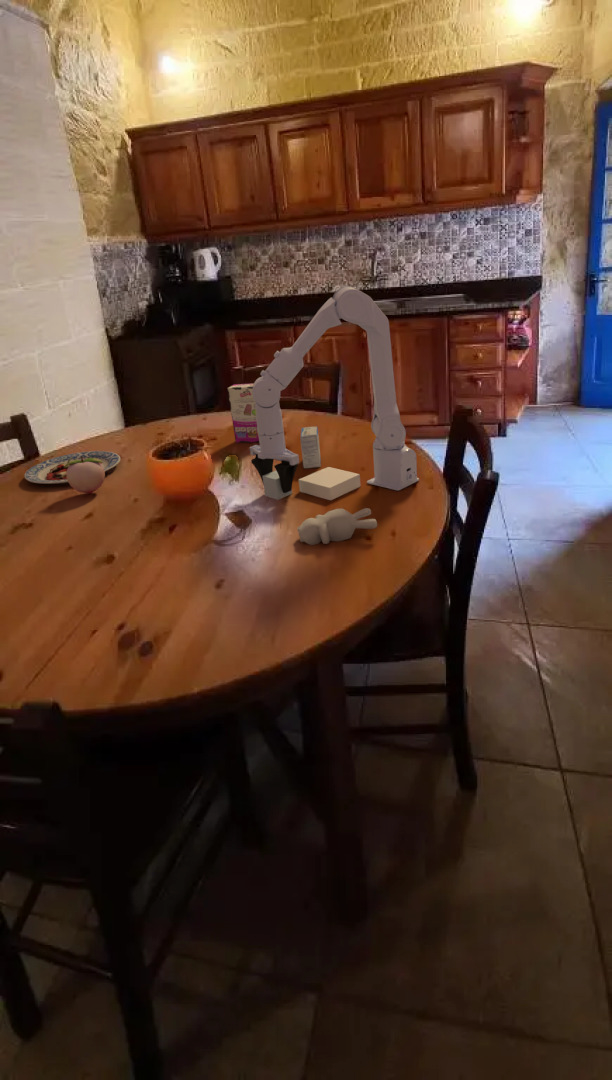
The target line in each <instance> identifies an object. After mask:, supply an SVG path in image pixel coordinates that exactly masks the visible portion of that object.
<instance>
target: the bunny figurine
mask: <svg viewBox="0 0 612 1080" xmlns="http://www.w3.org/2000/svg"><path fill="white" fill-rule="evenodd" d="M370 515H372V510H371V509H370V508H367V507H365V508H363V509H360V510H358V511H356V512H355V513H353V514H352V513H351V512H349V511H348V510H345V509H344V508H336V509H331V510H328V511H327V512H326V513H324V514H317V515H315V517H309V518H305V520H303V521H302V523H301V524H300V526H297V527H296V528H297V532H298V536H299V540H300V543H303V542H304V543H306V544H308V545H310V546H313V545H318V544H320V543H321V542H322V543H323V544H324V545H328V544H329V543H330V541H332V542H343V541H345V540H349V539H351V538H352V536H353V534H354V532H355V530H356V529H364V530H365V529H367V530H369V529H370V530H372V529H376V528H377V527H378V522H377V520H376V518H368V519H367V518H366V519H363V518H365V517H368V516H370Z"/></svg>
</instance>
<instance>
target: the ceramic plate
mask: <svg viewBox="0 0 612 1080" xmlns="http://www.w3.org/2000/svg"><path fill="white" fill-rule="evenodd" d="M81 456H82V458H83V460H85V459H88V458H96V459H99V460H101V461H102V462H103V463H101V462H99V463H100V464H101V465H102V466H103V469H104V472H105V473H106V472H107V471H110V470H111V469H113V468H114V467H116V466H117V465H118V464H119V463H120V461H121V456H120V455H119V454H117V453H116V452H112V451H106V450H91V451H90V450H89V451H82V452H74V453H68V454H64V455H60V456H56V457H53V458H50V459H47V460H44V461H41V462H39V463H37V464H35V465H34V466H31V467H30V468H29V469H27V470H26V472H25V473H24V479H25V480H26V481H28V482H30V483H35V484H49V485H51V484H52V485H53V484H67V483H68V484H69V482H68V480H67V469H68V467H69V466H70V465H71V464H70V465H68V466H66V467H65V468H64V466H65V465H66V464H67V463H69V462H71V461H74V460H80V461H82V460H81Z"/></svg>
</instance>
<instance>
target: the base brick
mask: <svg viewBox="0 0 612 1080" xmlns="http://www.w3.org/2000/svg"><path fill="white" fill-rule="evenodd" d="M360 475H361V474H359V473H356V472H352V471H348V470H343V469H339V468H336V467H335V468H334V467H331V466H327V467H325V468H322V469H320V470H317V471H315V472H312V473H310V474H308V475H306V476H304V477H300V478H298V486H299V492H300V493H303V494H307V495H311V496H314V497H316V498H317V497H318V498H321V499H324V500H327V501H333V500H334V499H336V498H339V497H341V496H343V495H346V494H348V493H349V492H351V491H354V490H356V489H358V488H360V487H361V476H360Z"/></svg>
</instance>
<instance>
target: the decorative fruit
mask: <svg viewBox="0 0 612 1080" xmlns="http://www.w3.org/2000/svg"><path fill="white" fill-rule="evenodd" d="M81 460H82V461H80V460H74V461H71V462H69V463H67V464H66V465H65V466H64V468H65V467H66V466H68V465H70V464H71V465H70V466H69V467H68V469H67V480H68V482H69V483H68V484H69V486H71V488H73V490H75V491H77V492H79V493H83V494H88V495H89V494H90V495H91V494H92V493H94V492H96V491H97V490H99V489H100V488H101V487H102V486H103V484H104V482H105V477H106V471H105V472H104V469H103V466H102V465H101V464H100V463H99V462H101V463H103V462H102V461H101V460H99V459H96V458H88V459H85V460H83V458H82V456H81Z"/></svg>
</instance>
